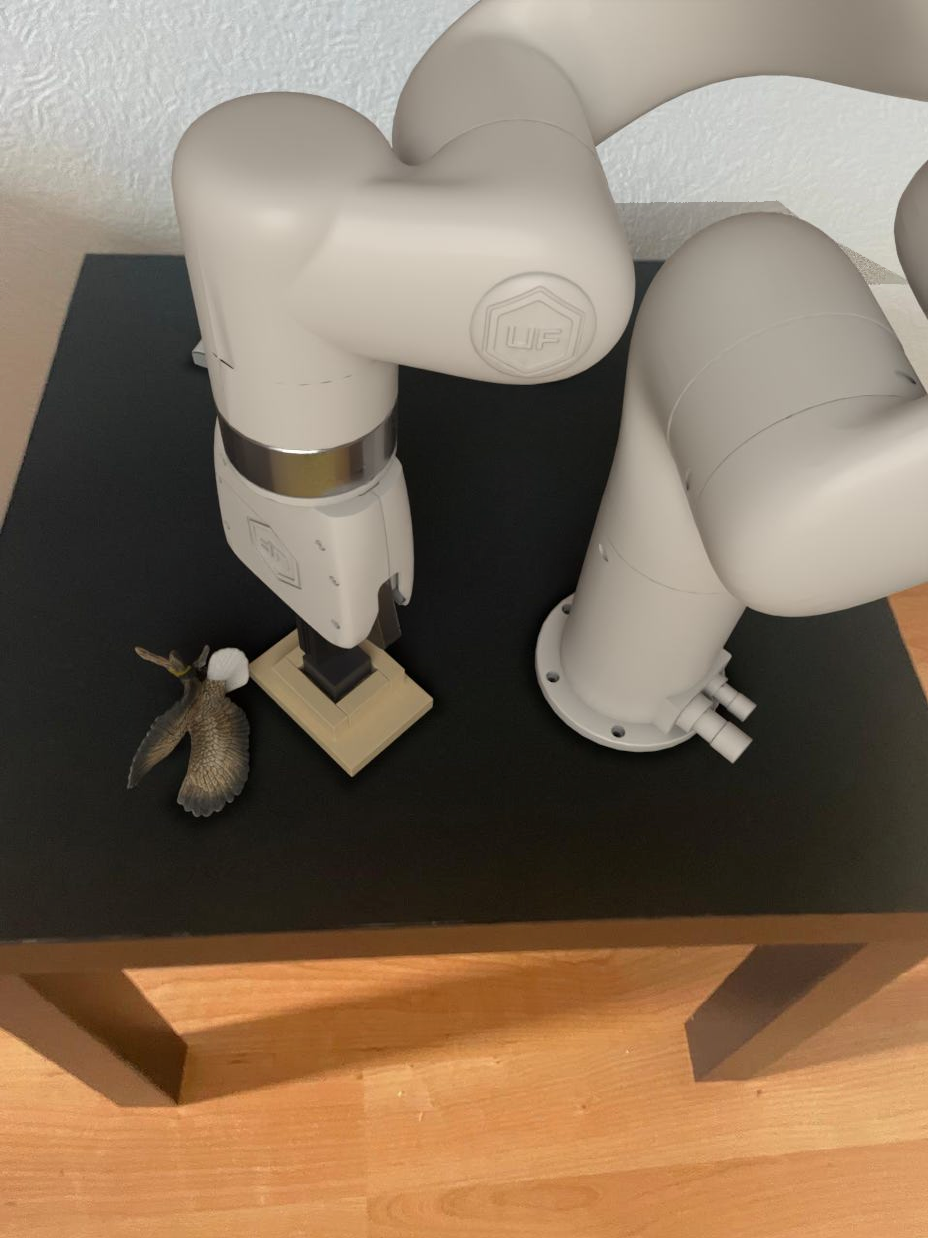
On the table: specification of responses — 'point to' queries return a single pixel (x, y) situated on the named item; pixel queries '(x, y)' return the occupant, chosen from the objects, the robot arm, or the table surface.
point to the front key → (339, 671)
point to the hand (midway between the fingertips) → (329, 643)
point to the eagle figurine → (202, 729)
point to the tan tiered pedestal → (343, 702)
